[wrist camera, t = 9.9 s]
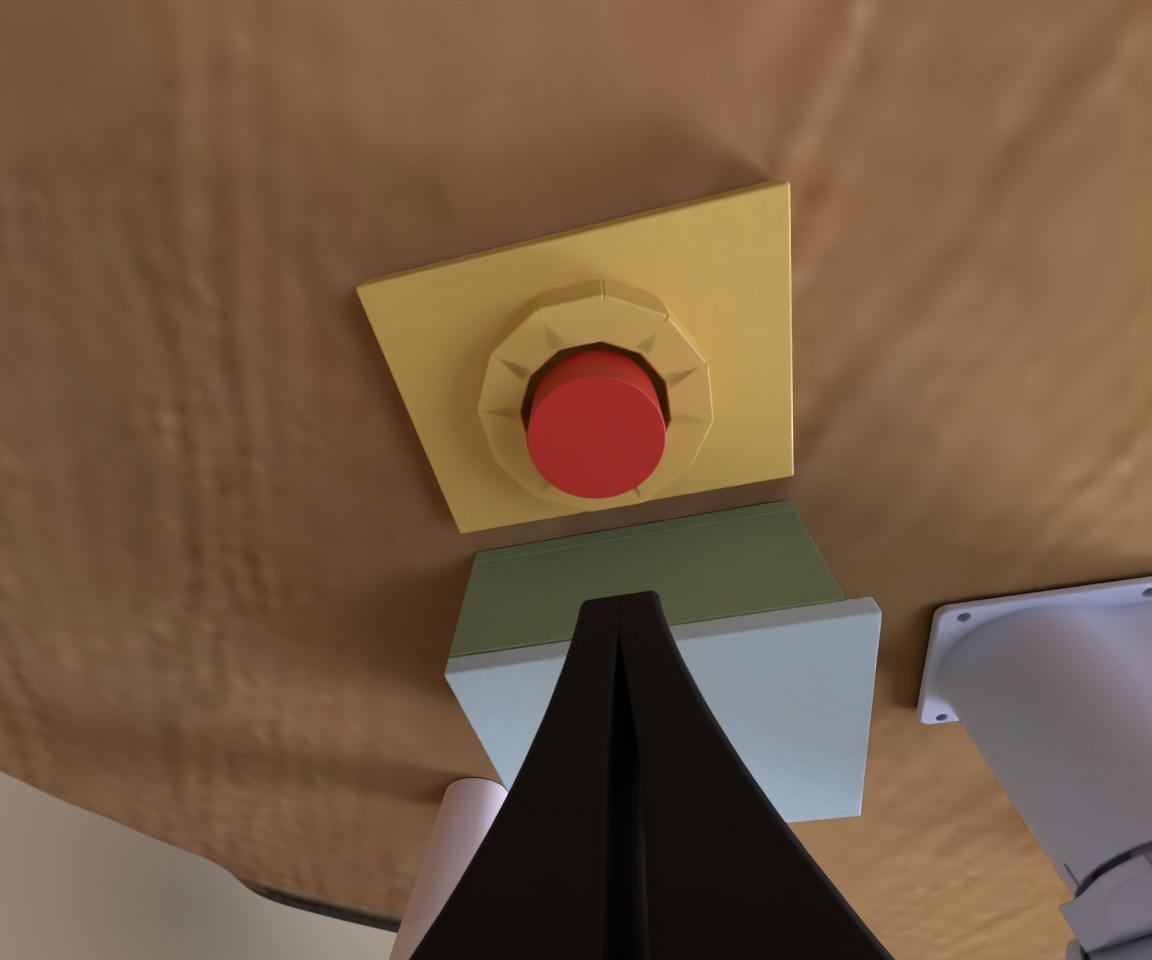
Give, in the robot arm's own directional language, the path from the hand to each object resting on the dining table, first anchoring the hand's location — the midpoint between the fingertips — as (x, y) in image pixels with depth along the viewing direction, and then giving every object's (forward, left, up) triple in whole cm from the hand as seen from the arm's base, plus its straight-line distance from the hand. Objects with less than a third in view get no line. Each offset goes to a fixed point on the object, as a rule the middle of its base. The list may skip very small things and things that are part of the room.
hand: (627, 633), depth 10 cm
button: (0, -1, -7) cm, 7 cm away
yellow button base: (0, -1, -10) cm, 10 cm away
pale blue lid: (0, +11, -5) cm, 12 cm away
